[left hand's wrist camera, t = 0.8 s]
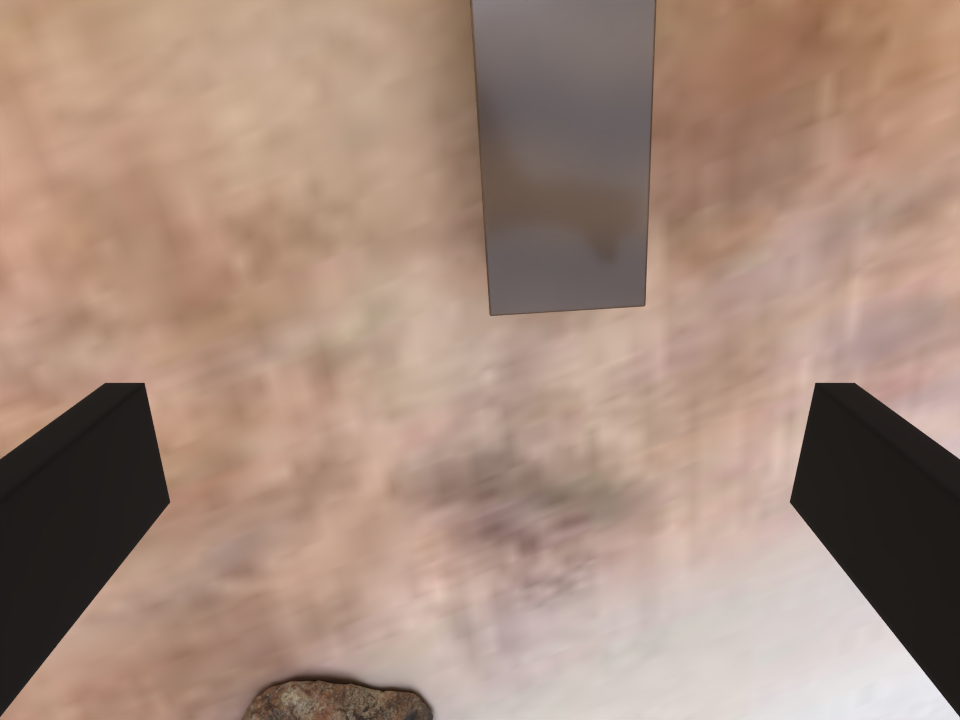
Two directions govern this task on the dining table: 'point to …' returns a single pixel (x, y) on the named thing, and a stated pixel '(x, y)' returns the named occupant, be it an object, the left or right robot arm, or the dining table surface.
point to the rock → (334, 703)
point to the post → (564, 150)
